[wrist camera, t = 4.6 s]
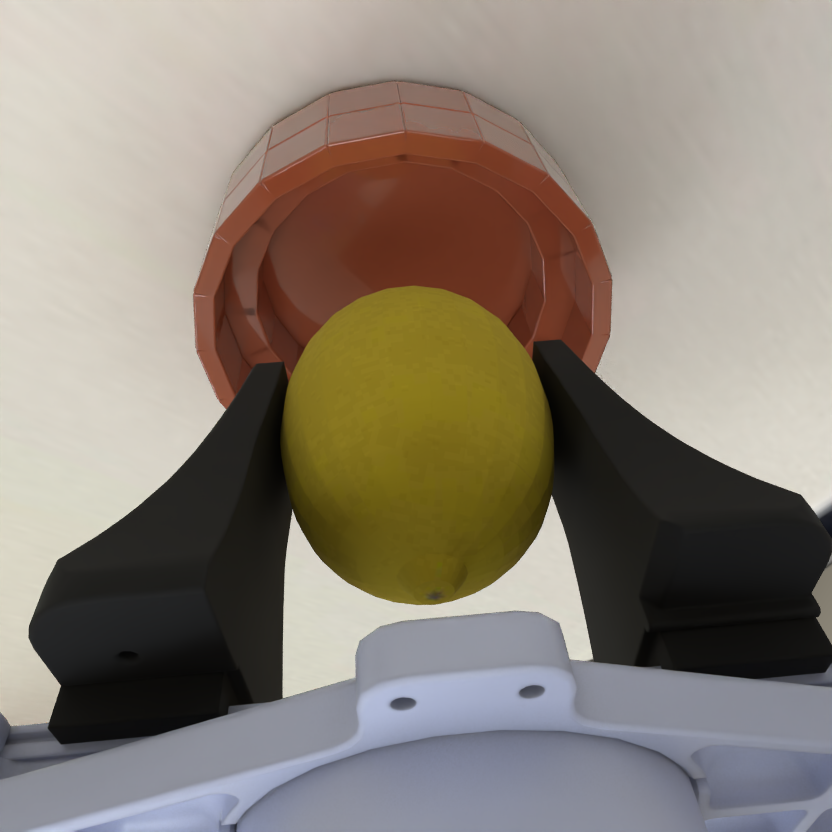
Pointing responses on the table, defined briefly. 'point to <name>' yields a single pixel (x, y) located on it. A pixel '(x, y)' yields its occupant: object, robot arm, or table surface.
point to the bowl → (395, 228)
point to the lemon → (417, 446)
